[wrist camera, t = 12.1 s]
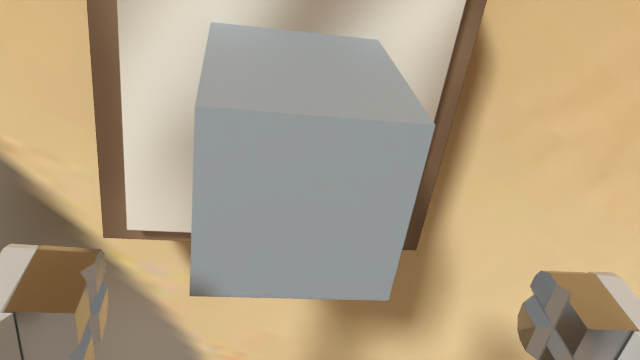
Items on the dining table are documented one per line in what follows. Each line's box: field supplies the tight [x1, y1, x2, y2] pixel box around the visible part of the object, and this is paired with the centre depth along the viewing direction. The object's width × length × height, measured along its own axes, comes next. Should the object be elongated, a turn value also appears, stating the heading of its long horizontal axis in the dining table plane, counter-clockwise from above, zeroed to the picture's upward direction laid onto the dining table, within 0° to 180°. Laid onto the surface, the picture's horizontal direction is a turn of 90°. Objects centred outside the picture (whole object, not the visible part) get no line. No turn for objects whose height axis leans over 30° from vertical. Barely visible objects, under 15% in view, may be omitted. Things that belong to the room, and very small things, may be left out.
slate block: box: [190, 22, 435, 301], centre depth 15 cm, size 5×5×6 cm
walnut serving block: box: [87, 0, 487, 250], centre depth 20 cm, size 12×12×6 cm
